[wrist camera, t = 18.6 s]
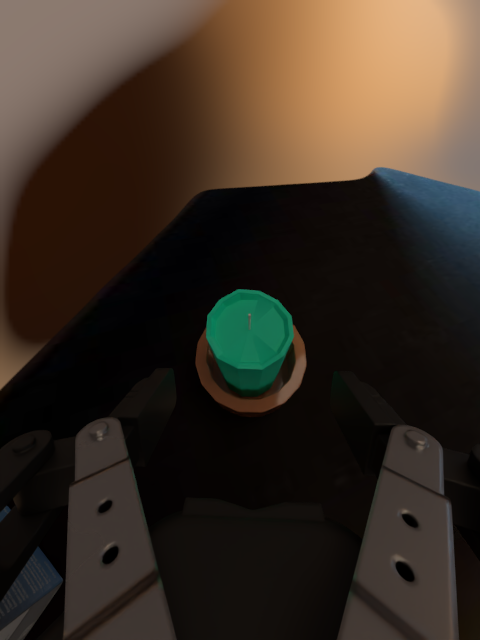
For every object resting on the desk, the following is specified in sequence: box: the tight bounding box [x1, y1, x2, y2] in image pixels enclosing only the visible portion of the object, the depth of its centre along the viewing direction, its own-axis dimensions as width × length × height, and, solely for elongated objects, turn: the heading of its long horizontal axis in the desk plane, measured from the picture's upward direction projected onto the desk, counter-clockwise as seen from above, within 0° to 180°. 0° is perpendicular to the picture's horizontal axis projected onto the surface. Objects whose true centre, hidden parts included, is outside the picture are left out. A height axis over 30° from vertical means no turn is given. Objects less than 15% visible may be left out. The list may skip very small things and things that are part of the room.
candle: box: [206, 289, 294, 397], centre depth 19 cm, size 6×6×12 cm
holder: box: [195, 325, 307, 417], centre depth 23 cm, size 10×10×5 cm
